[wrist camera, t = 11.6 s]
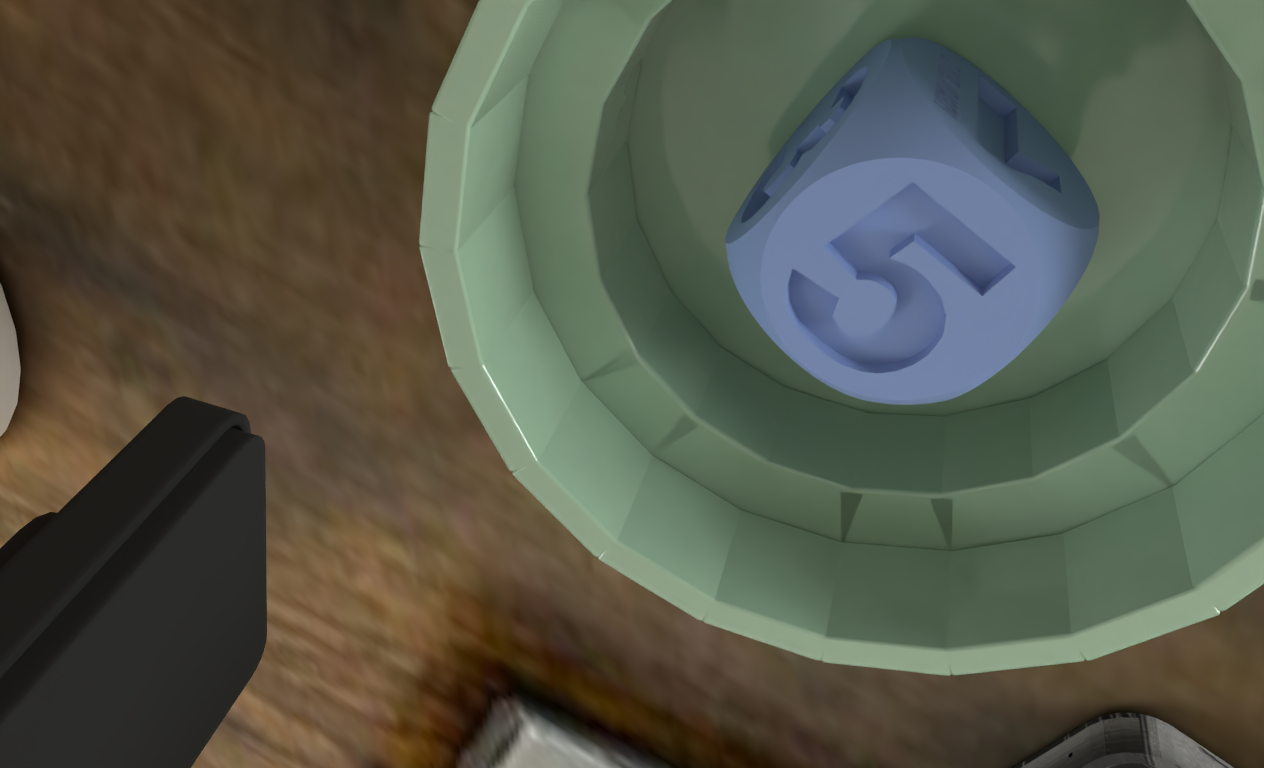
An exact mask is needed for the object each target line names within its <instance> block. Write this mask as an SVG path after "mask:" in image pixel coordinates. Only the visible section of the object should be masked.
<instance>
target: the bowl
mask: <svg viewBox="0 0 1264 768" xmlns="http://www.w3.org/2000/svg"><path fill="white" fill-rule="evenodd" d="M911 37H918V38H924V39H927V40H930V41H933V42H935V43H938V44H940V45H942V46H944V47H946V48H948V49H949V50H951V51H953V52H955V53H956V54H958V55H960V56H961V57H963V58H964V59H966V60H967V61H969V62H970V63H972V64H973V65H974V66H976V67H977V68H979V69H980V70H981V71H983V72H984V73H985V74H987V75H988V76H989V77H990V78H992V79H993V80H994V81H995V82H996V83H998V84H999V85H1000V86H1001V87H1002V88H1004V89H1005V90H1006V91H1007V92H1008V93H1009V94H1010V95H1012V96H1013V97H1014V98H1015V99H1016V100H1017V101H1018V102H1019V103H1020V104H1021V105H1022V106H1023V107H1024V108H1025V109H1026V110H1027V111H1028V112H1029V113H1030V114H1031V115H1032V116H1033V117H1034V118H1035V119H1036V120H1037V121H1038V122H1039V123H1040V124H1041V125H1042V126H1043V127H1044V128H1045V129H1046V130H1047V131H1048V132H1049V134H1050V135H1051V136H1052V137H1053V138H1054V139H1055V140H1056V142H1057V143H1058V144H1059V145H1060V146H1061V148H1062V149H1063V150H1064V151H1065V153H1066V154H1067V155H1068V156H1069V158H1070V159H1071V160H1072V162H1073V163H1074V164H1075V166H1076V167H1077V169H1078V170H1079V172H1080V173H1081V175H1082V176H1083V178H1084V179H1085V181H1086V183H1087V184H1088V186H1089V188H1090V190H1091V192H1092V194H1093V196H1094V198H1095V200H1096V203H1097V206H1098V209H1099V216H1100V218H1099V233H1098V239H1097V243H1096V247H1095V249H1094V252H1093V255H1092V257H1091V260H1090V262H1089V264H1088V266H1087V268H1086V270H1085V272H1084V274H1083V276H1082V277H1081V279H1080V281H1079V282H1078V284H1077V286H1076V287H1075V289H1074V290H1073V292H1072V293H1071V295H1070V296H1069V298H1068V299H1067V301H1066V302H1065V303H1064V305H1063V306H1062V307H1061V309H1060V310H1059V311H1058V312H1057V314H1056V315H1055V316H1054V317H1053V319H1052V320H1051V321H1050V322H1049V323H1048V325H1047V326H1046V327H1045V328H1044V329H1043V330H1042V331H1041V333H1040V334H1039V335H1038V336H1037V337H1036V338H1035V339H1034V340H1033V341H1032V342H1031V343H1030V344H1029V345H1028V346H1027V347H1026V348H1025V349H1024V350H1023V351H1022V352H1021V353H1020V354H1019V355H1018V356H1016V357H1015V358H1014V359H1013V360H1012V361H1011V362H1010V363H1008V364H1007V365H1006V366H1005V367H1004V368H1002V369H1001V370H1000V371H999V372H997V373H996V374H995V375H993V376H992V377H991V378H989V379H988V380H986V381H985V382H983V383H982V384H980V385H979V386H977V387H975V388H974V389H972V390H970V391H968V392H967V393H964V394H962V395H960V396H958V397H955V398H953V399H950V400H946V401H941V402H935V403H928V404H914V405H898V404H884V403H877V402H871V401H866V400H861V399H857V398H854V397H851V396H849V395H846V394H844V393H842V392H839V391H837V390H835V389H834V388H832V387H830V386H828V385H826V384H825V383H823V382H821V381H820V380H818V379H817V378H815V377H814V376H812V375H811V374H810V373H808V372H807V371H806V370H804V369H803V368H802V367H801V366H799V365H798V364H797V363H796V362H794V361H793V360H792V359H791V358H790V357H789V356H788V355H787V354H786V353H785V352H784V351H783V350H782V349H781V348H779V347H778V345H777V344H776V343H775V342H774V341H773V340H772V339H771V338H770V337H769V336H768V335H767V333H766V332H765V331H764V330H763V329H762V327H761V326H760V325H759V323H758V322H757V321H756V319H755V318H754V317H753V315H752V314H751V312H750V311H749V309H748V308H747V306H746V304H745V303H744V301H743V299H742V298H741V296H740V294H739V292H738V290H737V288H736V285H735V283H734V281H733V278H732V275H731V272H730V268H729V264H728V258H727V250H726V243H725V237H726V234H727V231H728V229H729V227H730V225H731V222H732V221H733V219H734V217H735V215H736V213H737V212H738V210H739V208H740V207H741V205H742V203H743V202H744V200H745V199H746V197H747V196H748V194H749V192H750V191H751V190H752V188H753V187H754V185H755V184H756V182H757V181H758V179H759V178H760V177H761V175H762V174H763V172H764V171H765V170H766V168H767V167H768V165H769V164H770V163H771V161H772V160H773V159H774V157H775V156H776V155H777V153H778V152H779V151H780V149H781V148H782V147H783V146H784V144H785V143H786V142H787V141H788V139H789V138H790V137H791V135H792V134H793V133H794V132H795V131H796V129H797V128H798V127H799V126H800V124H801V123H802V122H803V121H804V120H805V118H806V117H807V116H808V115H809V114H810V112H811V111H812V110H813V109H814V108H815V107H816V105H817V104H818V103H819V102H820V101H821V100H822V99H823V97H824V96H825V95H826V94H827V93H828V92H829V91H830V90H831V89H832V88H833V86H834V85H835V84H836V83H837V82H838V81H839V80H840V79H841V78H842V77H843V76H844V75H845V74H846V73H847V72H848V71H849V70H850V69H851V68H852V67H853V66H854V65H855V64H856V63H857V62H858V61H859V60H860V59H861V58H862V57H863V56H864V55H866V54H867V53H868V52H869V51H870V50H871V49H873V48H874V47H875V46H877V45H878V44H880V43H881V42H883V41H885V40H890V39H901V38H911ZM419 244H420V253H421V257H422V261H423V265H424V269H425V273H426V278H427V282H428V286H429V290H430V294H431V298H432V302H433V306H434V310H435V314H436V318H437V322H438V326H439V330H440V335H441V339H442V343H443V347H444V351H445V355H446V359H447V363H448V366H449V367H451V372H452V373H453V375H454V377H455V379H456V380H457V382H458V384H459V385H460V387H461V389H462V390H463V392H464V394H465V396H466V397H467V399H468V401H469V402H470V404H471V406H472V408H473V409H474V411H475V413H476V414H477V416H478V418H479V419H480V421H481V423H482V425H483V426H484V428H485V430H486V431H487V433H488V435H489V437H490V438H491V440H492V442H493V443H494V445H495V447H496V448H497V450H498V452H499V454H500V455H501V457H502V459H503V460H504V462H505V464H506V466H507V467H508V469H509V470H510V471H513V472H512V474H513V476H514V477H515V478H516V479H517V480H518V481H519V482H520V483H521V484H522V485H523V486H524V487H525V488H526V489H527V490H528V491H529V492H530V493H531V494H532V495H533V496H534V497H535V498H536V499H537V500H538V501H539V502H540V503H541V504H542V505H543V506H544V507H545V508H546V509H547V510H548V511H549V512H550V513H551V514H552V515H553V516H554V517H555V518H556V519H557V520H558V521H559V522H560V523H561V524H562V525H563V526H564V527H566V528H567V529H568V530H569V531H570V532H571V533H572V534H573V535H574V536H575V537H576V538H577V539H578V540H579V541H580V542H581V543H582V544H583V545H584V546H585V547H586V548H587V549H588V550H589V551H590V552H591V553H592V554H593V555H594V556H595V557H598V559H599V560H600V561H602V562H603V563H605V564H607V565H608V566H610V567H612V568H613V569H615V570H617V571H618V572H620V573H622V574H623V575H625V576H627V577H628V578H630V579H632V580H633V581H635V582H637V583H638V584H640V585H641V586H643V587H645V588H646V589H648V590H650V591H651V592H653V593H655V594H656V595H658V596H660V597H661V598H663V599H665V600H666V601H668V602H670V603H671V604H673V605H675V606H676V607H678V608H679V609H681V610H683V611H684V612H686V613H688V614H689V615H691V616H693V617H694V618H696V619H698V620H700V621H701V620H703V622H705V623H707V624H710V625H713V626H716V627H719V628H722V629H725V630H728V631H731V632H734V633H737V634H740V635H743V636H746V637H749V638H752V639H755V640H758V641H761V642H764V643H767V644H770V645H773V646H775V647H778V648H781V649H784V650H787V651H790V652H793V653H796V654H799V655H802V656H805V657H808V658H811V659H814V660H817V661H820V660H821V659H822V662H825V663H835V664H844V665H853V666H862V667H871V668H880V669H889V670H898V671H907V672H916V673H926V674H935V675H944V676H950V674H952V675H963V674H973V673H982V672H991V671H1000V670H1009V669H1018V668H1028V667H1037V666H1046V665H1055V664H1064V663H1073V662H1082V661H1084V660H1085V659H1086V660H1087V661H1090V660H1093V659H1096V658H1099V657H1102V656H1104V655H1107V654H1110V653H1113V652H1116V651H1118V650H1121V649H1124V648H1127V647H1130V646H1132V645H1135V644H1138V643H1141V642H1144V641H1147V640H1149V639H1152V638H1155V637H1158V636H1161V635H1163V634H1166V633H1169V632H1172V631H1175V630H1178V629H1180V628H1183V627H1186V626H1189V625H1192V624H1194V623H1197V622H1200V621H1203V620H1206V619H1209V618H1211V617H1214V616H1217V615H1219V614H1220V611H1225V610H1227V609H1228V608H1229V607H1231V606H1232V605H1234V604H1235V603H1237V602H1238V601H1240V600H1241V599H1242V598H1244V597H1245V596H1247V595H1248V594H1250V593H1251V592H1253V591H1254V590H1256V589H1257V588H1258V587H1260V586H1261V585H1263V584H1264V0H479V1H478V3H477V5H476V8H475V10H474V12H473V14H472V17H471V19H470V21H469V23H468V26H467V28H466V30H465V32H464V35H463V37H462V39H461V41H460V44H459V46H458V48H457V50H456V52H455V55H454V57H453V59H452V61H451V64H450V66H449V68H448V70H447V73H446V75H445V77H444V79H443V82H442V84H441V86H440V88H439V91H438V93H437V95H436V97H435V100H434V102H433V104H432V111H431V112H430V113H429V123H428V135H427V148H426V161H425V173H424V186H423V199H422V211H421V224H420V237H419Z"/></svg>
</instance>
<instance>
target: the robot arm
mask: <svg viewBox="0 0 1264 768" xmlns="http://www.w3.org/2000/svg"><path fill="white" fill-rule="evenodd" d="M20 373H21V367H20V359H19V352H18V344H17V336H16V330H15V326H14V323H13V320H12V317H11V314H10V310H9V307H8V304H7V301H6V298H5V295H4V292H3V288H2V285H1V283H0V437H1V436H2V434H3V433H4V432H5V431H6V430H7V427H8V425H9V423H10V420H11V418H12V415H13V413H14V410H15V408H16V405H17V403H18V393H19V383H20ZM266 636H267V602H266V489H265V444H264V441H263V439H262V437H260V436H257V435H254V434H251V431H250V424H249V421H248V419H247V417H246V415H243V414H241V413H238V412H235V411H231V410H228V409H225V408H221V407H218V406H215V405H211V404H208V403H205V402H202V401H198V400H195V399H192V398H188V397H185V396H183V397H179V398H176V399H175V400H174V401H172V402H171V403H170V404H168V405H167V406H166V407H165V408H164V409H163V410H162V411H161V412H160V413H159V414H158V415H157V416H156V417H155V418H154V419H153V420H152V421H151V422H150V423H149V424H148V425H147V426H146V427H145V428H144V429H143V430H142V431H141V432H140V433H139V434H138V435H137V436H136V437H135V438H133V439H132V440H131V441H130V442H129V443H128V444H127V445H126V446H125V447H124V448H123V449H122V450H121V451H120V452H119V453H118V454H117V455H116V456H115V457H114V458H113V459H112V460H111V461H110V462H109V463H108V464H107V465H106V466H105V467H104V468H103V469H102V470H101V471H100V472H99V473H98V474H97V475H96V476H95V477H94V478H93V479H92V480H91V481H90V482H89V483H88V484H87V485H86V486H85V487H84V488H83V489H82V490H81V491H79V492H78V493H77V494H76V495H75V496H74V497H73V498H72V499H71V500H70V501H69V502H68V503H67V504H66V505H65V506H64V507H63V508H62V509H61V510H60V511H59V512H58V513H53V512H50V513H47V514H44V515H42V516H39V517H36V518H35V519H33V520H32V521H31V522H29V523H28V524H27V525H25V526H24V527H23V528H22V529H20V530H19V531H18V532H17V533H16V534H15V535H14V536H13V537H12V538H11V539H10V540H9V541H8V542H7V543H6V544H5V545H4V546H2V547H1V548H0V768H191V766H192V765H193V763H194V762H195V760H196V759H197V757H198V756H199V754H200V753H201V751H202V750H203V748H204V747H205V745H206V744H207V742H208V741H209V739H210V738H211V736H212V735H213V733H214V732H215V731H216V729H217V728H218V726H219V725H220V723H221V722H222V720H223V719H224V717H225V716H226V714H227V713H228V711H229V710H230V708H231V707H232V705H233V704H234V702H235V701H236V699H237V698H238V696H239V695H240V693H241V692H242V690H243V689H244V687H245V686H246V684H247V683H248V681H249V680H250V678H251V677H252V675H253V673H254V672H255V670H256V668H257V666H258V664H259V662H260V660H261V657H262V654H263V651H264V648H265V643H266Z"/></svg>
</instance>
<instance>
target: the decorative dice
mask: <svg viewBox="0 0 1264 768" xmlns="http://www.w3.org/2000/svg"><path fill="white" fill-rule="evenodd" d="M1099 218H1100V216H1099V209H1098V206H1097V203H1096V200H1095V198H1094V196H1093V194H1092V192H1091V190H1090V188H1089V186H1088V184H1087V183H1086V181H1085V179H1084V178H1083V176H1082V175H1081V173H1080V172H1079V170H1078V169H1077V167H1076V166H1075V164H1074V163H1073V162H1072V160H1071V159H1070V158H1069V156H1068V155H1067V154H1066V153H1065V151H1064V150H1063V149H1062V148H1061V146H1060V145H1059V144H1058V143H1057V142H1056V140H1055V139H1054V138H1053V137H1052V136H1051V135H1050V134H1049V132H1048V131H1047V130H1046V129H1045V128H1044V127H1043V126H1042V125H1041V124H1040V123H1039V122H1038V121H1037V120H1036V119H1035V118H1034V117H1033V116H1032V115H1031V114H1030V113H1029V112H1028V111H1027V110H1026V109H1025V108H1024V107H1023V106H1022V105H1021V104H1020V103H1019V102H1018V101H1017V100H1016V99H1015V98H1014V97H1013V96H1012V95H1010V94H1009V93H1008V92H1007V91H1006V90H1005V89H1004V88H1002V87H1001V86H1000V85H999V84H998V83H996V82H995V81H994V80H993V79H992V78H990V77H989V76H988V75H987V74H985V73H984V72H983V71H981V70H980V69H979V68H977V67H976V66H974V65H973V64H972V63H970V62H969V61H967V60H966V59H964V58H963V57H961V56H960V55H958V54H956V53H955V52H953V51H951V50H949V49H948V48H946V47H944V46H942V45H940V44H938V43H935V42H933V41H930V40H927V39H924V38H918V37H911V38H901V39H890V40H885V41H883V42H881V43H880V44H878V45H877V46H875V47H874V48H873V49H871V50H870V51H869V52H868V53H867V54H866V55H864V56H863V57H862V58H861V59H860V60H859V61H858V62H857V63H856V64H855V65H854V66H853V67H852V68H851V69H850V70H849V71H848V72H847V73H846V74H845V75H844V76H843V77H842V78H841V79H840V80H839V81H838V82H837V83H836V84H835V85H834V86H833V88H832V89H831V90H830V91H829V92H828V93H827V94H826V95H825V96H824V97H823V99H822V100H821V101H820V102H819V103H818V104H817V105H816V107H815V108H814V109H813V110H812V111H811V112H810V114H809V115H808V116H807V117H806V118H805V120H804V121H803V122H802V123H801V124H800V126H799V127H798V128H797V129H796V131H795V132H794V133H793V134H792V135H791V137H790V138H789V139H788V141H787V142H786V143H785V144H784V146H783V147H782V148H781V149H780V151H779V152H778V153H777V155H776V156H775V157H774V159H773V160H772V161H771V163H770V164H769V165H768V167H767V168H766V170H765V171H764V172H763V174H762V175H761V177H760V178H759V179H758V181H757V182H756V184H755V185H754V187H753V188H752V190H751V191H750V192H749V194H748V196H747V197H746V199H745V200H744V202H743V203H742V205H741V207H740V208H739V210H738V212H737V213H736V215H735V217H734V219H733V221H732V222H731V225H730V227H729V229H728V231H727V234H726V237H725V243H726V250H727V258H728V264H729V268H730V272H731V275H732V278H733V281H734V283H735V285H736V288H737V290H738V292H739V294H740V296H741V298H742V299H743V301H744V303H745V304H746V306H747V308H748V309H749V311H750V312H751V314H752V315H753V317H754V318H755V319H756V321H757V322H758V323H759V325H760V326H761V327H762V329H763V330H764V331H765V332H766V333H767V335H768V336H769V337H770V338H771V339H772V340H773V341H774V342H775V343H776V344H777V345H778V347H779V348H781V349H782V350H783V351H784V352H785V353H786V354H787V355H788V356H789V357H790V358H791V359H792V360H793V361H794V362H796V363H797V364H798V365H799V366H801V367H802V368H803V369H804V370H806V371H807V372H808V373H810V374H811V375H812V376H814V377H815V378H817V379H818V380H820V381H821V382H823V383H825V384H826V385H828V386H830V387H832V388H834V389H835V390H837V391H839V392H842V393H844V394H846V395H849V396H851V397H854V398H857V399H861V400H866V401H871V402H877V403H884V404H898V405H914V404H928V403H935V402H941V401H946V400H950V399H953V398H955V397H958V396H960V395H962V394H964V393H967V392H968V391H970V390H972V389H974V388H975V387H977V386H979V385H980V384H982V383H983V382H985V381H986V380H988V379H989V378H991V377H992V376H993V375H995V374H996V373H997V372H999V371H1000V370H1001V369H1002V368H1004V367H1005V366H1006V365H1007V364H1008V363H1010V362H1011V361H1012V360H1013V359H1014V358H1015V357H1016V356H1018V355H1019V354H1020V353H1021V352H1022V351H1023V350H1024V349H1025V348H1026V347H1027V346H1028V345H1029V344H1030V343H1031V342H1032V341H1033V340H1034V339H1035V338H1036V337H1037V336H1038V335H1039V334H1040V333H1041V331H1042V330H1043V329H1044V328H1045V327H1046V326H1047V325H1048V323H1049V322H1050V321H1051V320H1052V319H1053V317H1054V316H1055V315H1056V314H1057V312H1058V311H1059V310H1060V309H1061V307H1062V306H1063V305H1064V303H1065V302H1066V301H1067V299H1068V298H1069V296H1070V295H1071V293H1072V292H1073V290H1074V289H1075V287H1076V286H1077V284H1078V282H1079V281H1080V279H1081V277H1082V276H1083V274H1084V272H1085V270H1086V268H1087V266H1088V264H1089V262H1090V260H1091V257H1092V255H1093V252H1094V249H1095V247H1096V243H1097V239H1098V233H1099Z"/></svg>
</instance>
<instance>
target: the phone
mask: <svg viewBox="0 0 1264 768" xmlns="http://www.w3.org/2000/svg"><path fill="white" fill-rule="evenodd" d="M1013 768H1234V767H1232V766H1231V765H1229V764H1228V763H1226V762H1225V761H1223V760H1222V759H1220V758H1219V757H1217V756H1216V755H1214V754H1213V753H1211V752H1210V751H1208V750H1207V749H1205V748H1204V747H1202V746H1201V745H1199V744H1198V743H1196V742H1195V741H1193V740H1192V739H1190V738H1189V737H1187V736H1186V735H1184V734H1183V733H1181V732H1180V731H1178V730H1177V729H1176V728H1174V727H1173V726H1171V725H1169V724H1167V723H1165V722H1163V721H1161V720H1159V719H1157V718H1155V717H1151V716H1147V715H1143V714H1139V713H1120V712H1119V713H1113V714H1108V715H1102V716H1100V717H1098V718H1095V719H1093V720H1091V721H1088V722H1087V723H1085V724H1083V725H1082V726H1080V727H1079V728H1077V729H1075V730H1074V731H1072V732H1070V733H1069V734H1067V735H1066V736H1064V737H1062V738H1061V739H1059V740H1057V741H1056V742H1054V743H1052V744H1051V745H1049V746H1048V747H1046V748H1044V749H1043V750H1041V751H1039V752H1038V753H1036V754H1035V755H1033V756H1031V757H1030V758H1028V759H1026V760H1025V761H1023V762H1022V763H1020V764H1018V765H1017V766H1015V767H1013Z"/></svg>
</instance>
